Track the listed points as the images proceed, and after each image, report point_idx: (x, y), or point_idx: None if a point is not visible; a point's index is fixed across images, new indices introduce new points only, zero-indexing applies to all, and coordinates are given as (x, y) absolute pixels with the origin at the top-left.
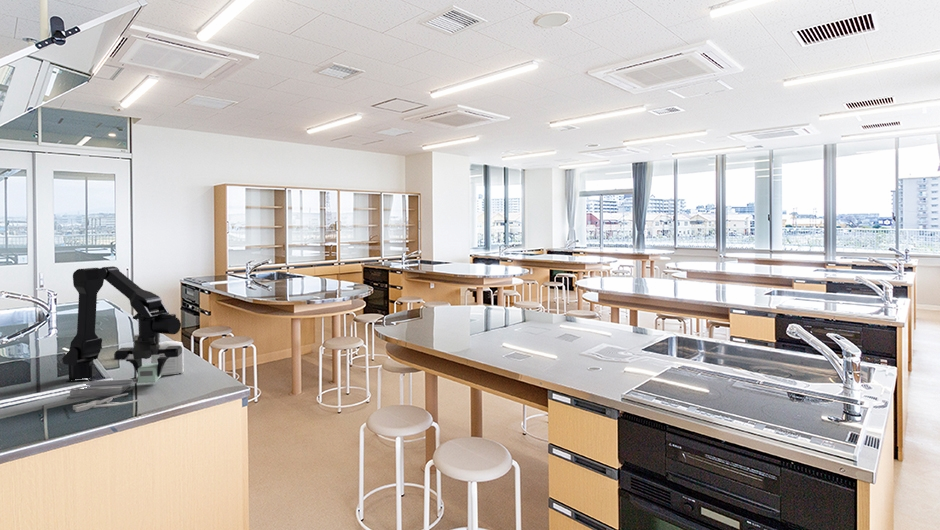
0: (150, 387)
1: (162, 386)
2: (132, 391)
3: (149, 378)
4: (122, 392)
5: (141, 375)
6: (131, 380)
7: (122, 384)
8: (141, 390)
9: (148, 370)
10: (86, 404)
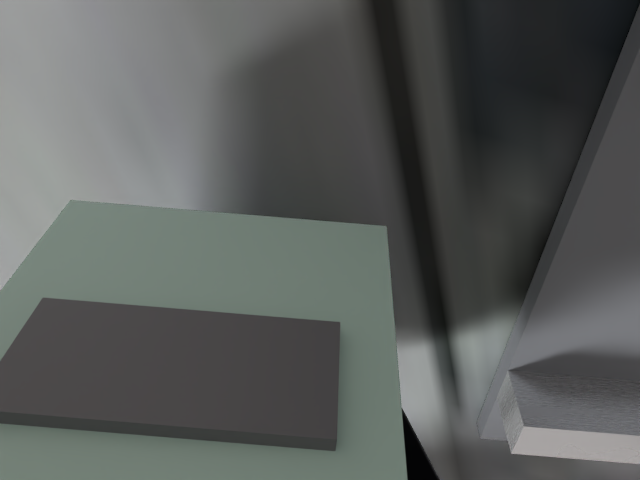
0: (210, 195)
1: (38, 194)
2: (457, 51)
3: (145, 262)
4: (635, 18)
5: (306, 334)
6: (518, 413)
7: (622, 371)
8: (307, 67)
9: (89, 449)
10: None
